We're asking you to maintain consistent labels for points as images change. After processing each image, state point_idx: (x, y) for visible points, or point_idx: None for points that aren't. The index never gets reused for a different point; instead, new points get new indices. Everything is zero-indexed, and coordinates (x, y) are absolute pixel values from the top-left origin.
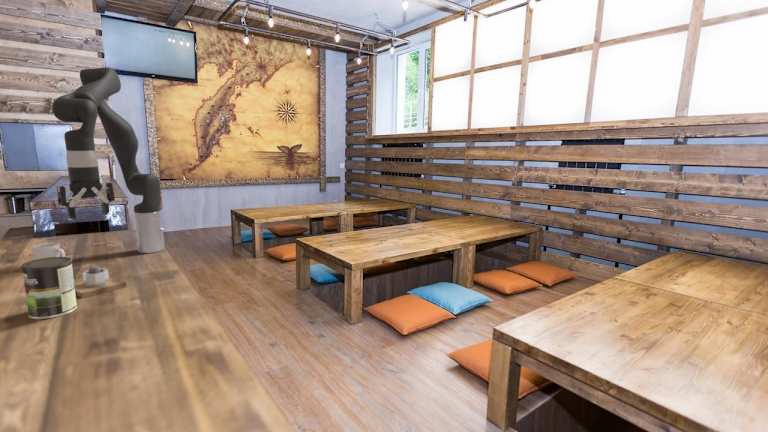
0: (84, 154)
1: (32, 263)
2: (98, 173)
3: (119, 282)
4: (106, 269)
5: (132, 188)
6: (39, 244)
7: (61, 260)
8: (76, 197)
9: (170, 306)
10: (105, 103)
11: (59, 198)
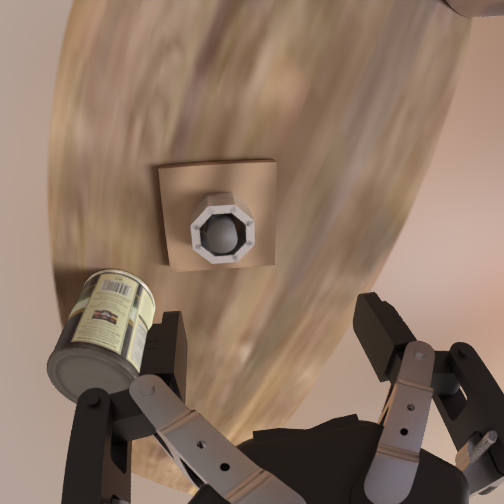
0: None
1: (64, 370)
2: None
3: (263, 255)
4: (253, 238)
5: None
6: None
7: (121, 388)
8: (203, 483)
9: (268, 394)
10: None
11: (83, 448)
